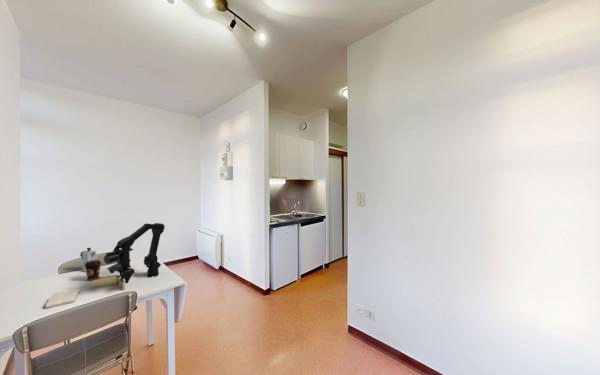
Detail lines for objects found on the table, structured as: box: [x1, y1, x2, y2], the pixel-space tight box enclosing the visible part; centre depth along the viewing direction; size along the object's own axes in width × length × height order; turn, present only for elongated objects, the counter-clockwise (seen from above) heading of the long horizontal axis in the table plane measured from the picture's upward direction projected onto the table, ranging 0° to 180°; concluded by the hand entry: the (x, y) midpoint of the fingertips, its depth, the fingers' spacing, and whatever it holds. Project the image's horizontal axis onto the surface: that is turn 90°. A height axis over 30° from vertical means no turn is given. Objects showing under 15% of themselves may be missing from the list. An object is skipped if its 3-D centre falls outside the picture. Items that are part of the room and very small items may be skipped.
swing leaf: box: [115, 274, 126, 291], centre depth 149 cm, size 15×3×6 cm, turn 53°
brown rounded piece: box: [85, 259, 102, 281], centre depth 160 cm, size 9×8×13 cm
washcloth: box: [45, 288, 81, 309], centre depth 133 cm, size 12×18×3 cm, turn 37°
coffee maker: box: [80, 247, 97, 273], centre depth 176 cm, size 15×9×18 cm, turn 77°
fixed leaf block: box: [92, 274, 118, 289], centre depth 152 cm, size 12×4×5 cm, turn 118°
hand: (124, 281), depth 149 cm, fingers open, 9 cm apart
